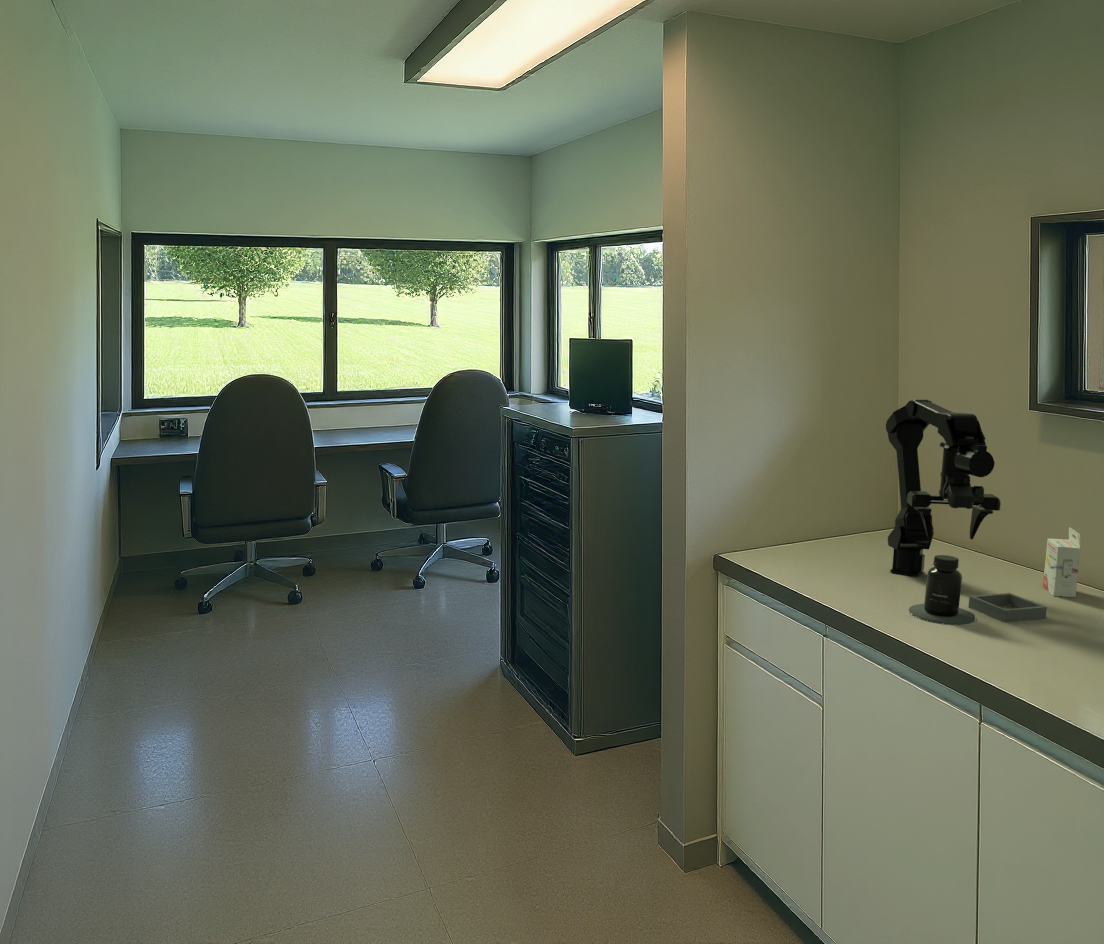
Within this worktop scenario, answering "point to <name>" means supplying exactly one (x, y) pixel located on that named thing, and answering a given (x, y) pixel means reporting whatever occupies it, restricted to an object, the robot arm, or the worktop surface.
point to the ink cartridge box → (1062, 565)
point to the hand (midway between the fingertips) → (949, 538)
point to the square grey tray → (1020, 613)
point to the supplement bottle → (943, 587)
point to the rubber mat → (960, 618)
